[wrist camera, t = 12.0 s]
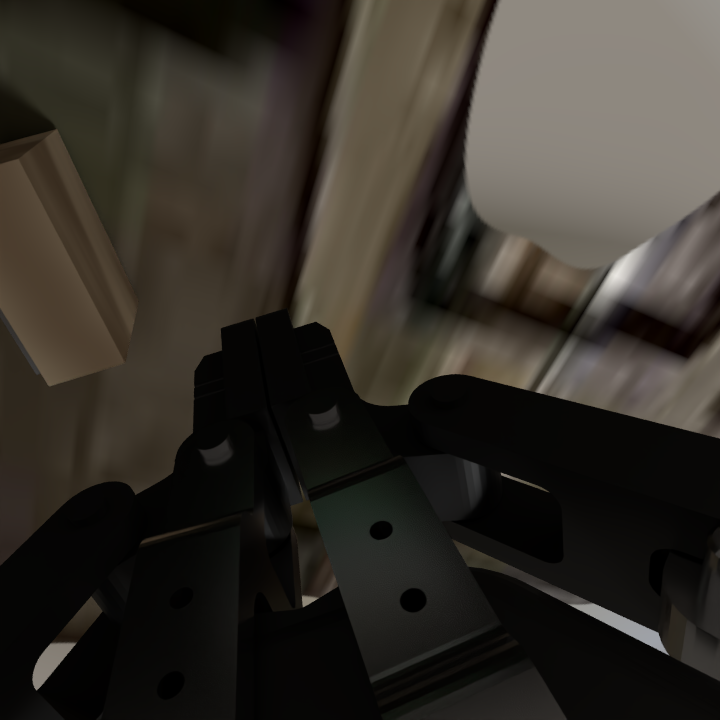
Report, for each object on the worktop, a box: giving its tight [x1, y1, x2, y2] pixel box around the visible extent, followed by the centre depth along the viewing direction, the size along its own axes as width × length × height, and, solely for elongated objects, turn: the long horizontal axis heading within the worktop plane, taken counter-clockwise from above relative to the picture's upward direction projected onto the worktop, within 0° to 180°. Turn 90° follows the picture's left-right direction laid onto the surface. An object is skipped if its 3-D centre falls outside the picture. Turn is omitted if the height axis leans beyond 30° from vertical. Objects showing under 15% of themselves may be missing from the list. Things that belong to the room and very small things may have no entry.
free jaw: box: [0, 129, 139, 386], centre depth 23 cm, size 3×8×6 cm, turn 13°
